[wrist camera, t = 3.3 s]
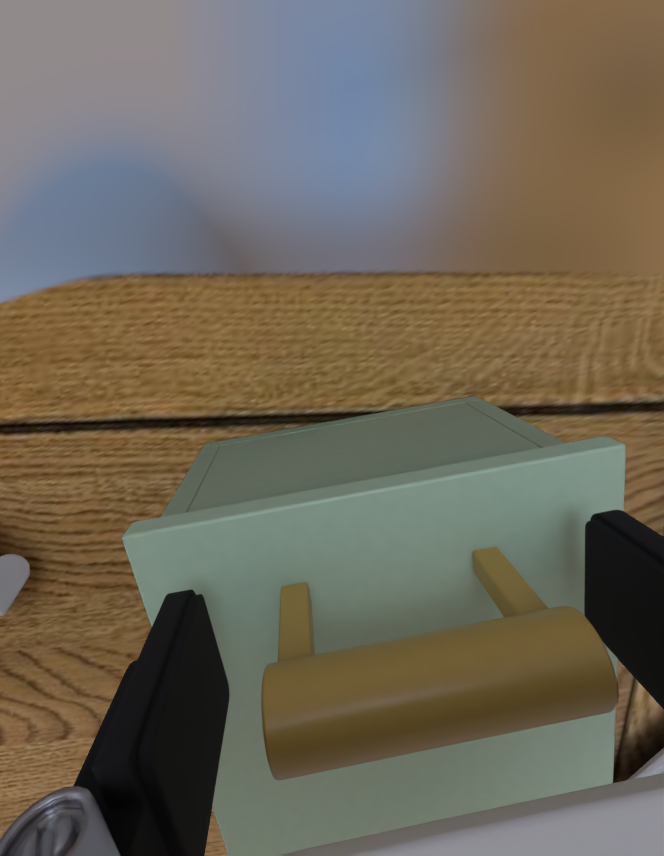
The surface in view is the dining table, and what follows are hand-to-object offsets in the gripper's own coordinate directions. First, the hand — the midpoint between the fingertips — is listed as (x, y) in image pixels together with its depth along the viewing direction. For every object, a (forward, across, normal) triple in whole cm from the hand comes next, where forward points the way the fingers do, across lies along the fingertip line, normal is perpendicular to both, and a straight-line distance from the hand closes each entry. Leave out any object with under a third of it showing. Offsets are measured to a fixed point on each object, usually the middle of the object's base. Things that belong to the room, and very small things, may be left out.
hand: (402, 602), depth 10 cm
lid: (+2, 0, +6) cm, 6 cm away
